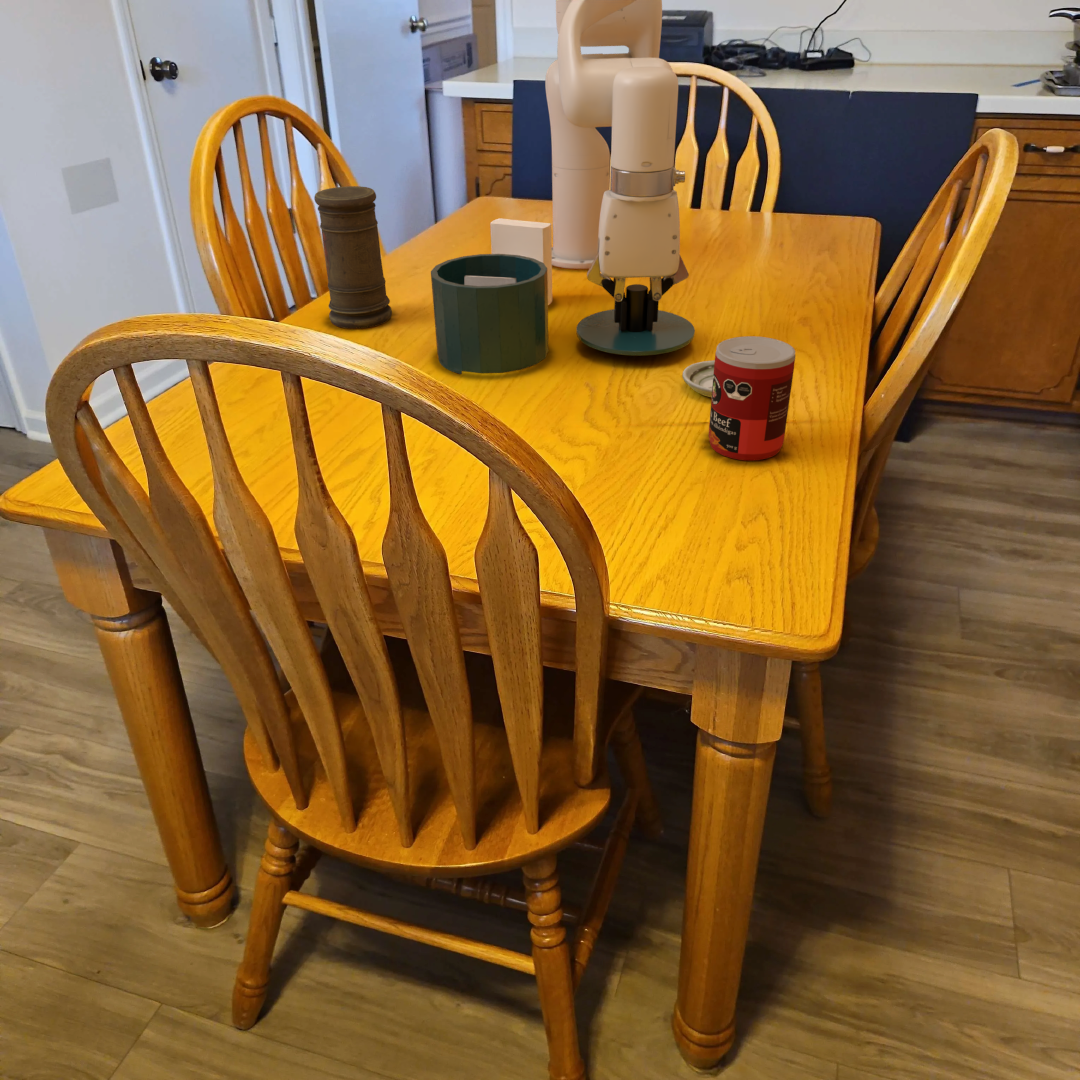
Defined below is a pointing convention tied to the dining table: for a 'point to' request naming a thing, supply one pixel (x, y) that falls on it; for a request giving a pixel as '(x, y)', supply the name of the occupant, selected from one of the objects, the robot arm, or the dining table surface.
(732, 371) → the canned food
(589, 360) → the dining table surface
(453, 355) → the pot
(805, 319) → the dining table surface
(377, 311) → the container
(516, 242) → the base with upright slab
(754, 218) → the dining table surface
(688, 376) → the saucer
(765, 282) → the dining table surface
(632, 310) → the lid
